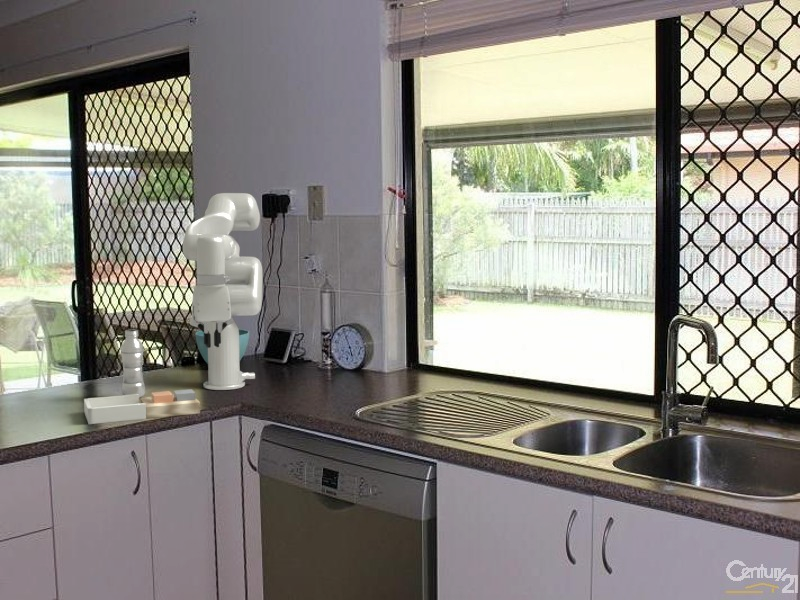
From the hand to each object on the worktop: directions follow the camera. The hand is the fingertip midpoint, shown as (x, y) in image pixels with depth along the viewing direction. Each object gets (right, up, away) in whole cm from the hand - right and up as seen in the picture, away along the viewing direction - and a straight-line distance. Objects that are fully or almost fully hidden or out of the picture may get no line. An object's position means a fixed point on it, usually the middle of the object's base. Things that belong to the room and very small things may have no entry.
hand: (212, 346), depth 244 cm
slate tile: (-7, -14, -2) cm, 16 cm away
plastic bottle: (-26, -16, +12) cm, 33 cm away
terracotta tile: (-13, -15, -4) cm, 20 cm away
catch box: (-24, -18, -9) cm, 32 cm away
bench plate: (-11, -18, -3) cm, 21 cm away
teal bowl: (-9, -11, +61) cm, 63 cm away
